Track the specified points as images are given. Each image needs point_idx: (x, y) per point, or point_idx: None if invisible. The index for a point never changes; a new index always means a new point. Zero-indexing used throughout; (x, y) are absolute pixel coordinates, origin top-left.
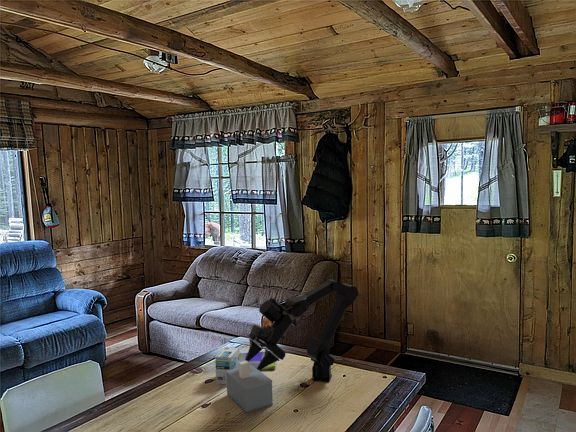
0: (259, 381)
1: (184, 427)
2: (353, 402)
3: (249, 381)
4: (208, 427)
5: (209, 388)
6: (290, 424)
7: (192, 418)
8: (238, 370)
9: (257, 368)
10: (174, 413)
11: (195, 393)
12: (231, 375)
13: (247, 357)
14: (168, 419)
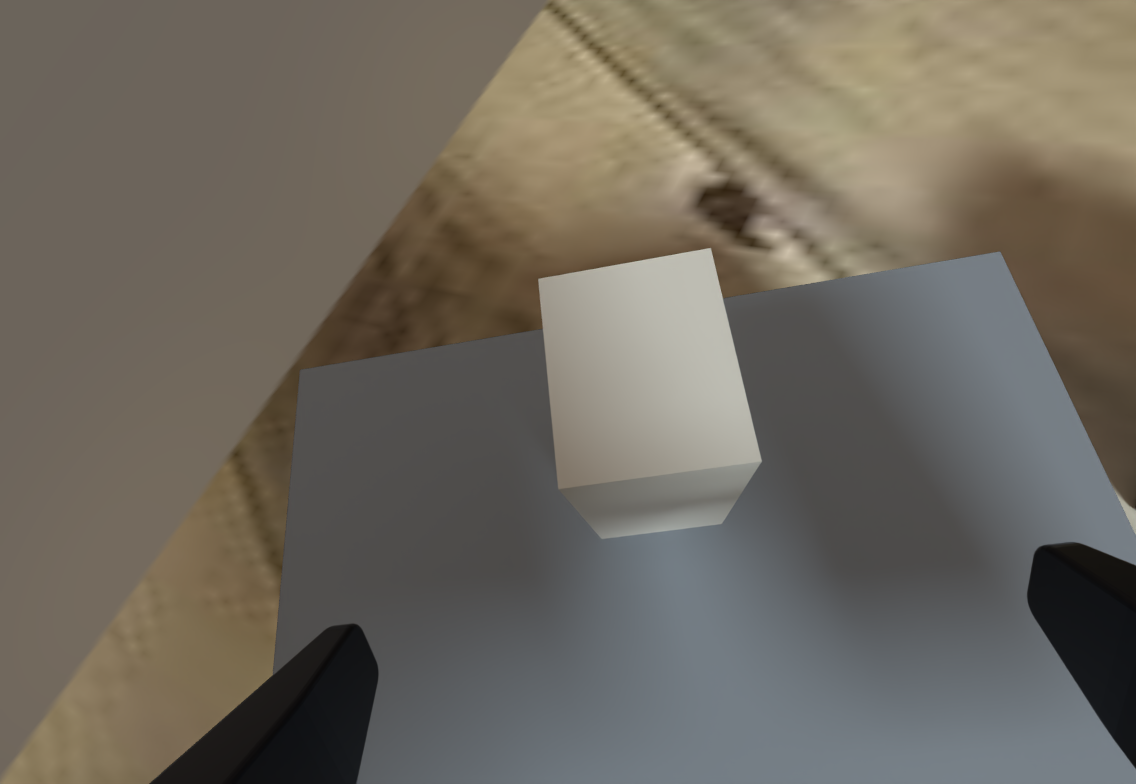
0: (351, 619)
1: (491, 82)
2: None
3: (438, 472)
4: (413, 192)
5: (1079, 276)
6: (75, 741)
7: (572, 122)
8: (958, 436)
9: (327, 631)
10: (692, 37)
11: (990, 162)
12: (775, 289)
13: (1117, 606)
14: (630, 12)
